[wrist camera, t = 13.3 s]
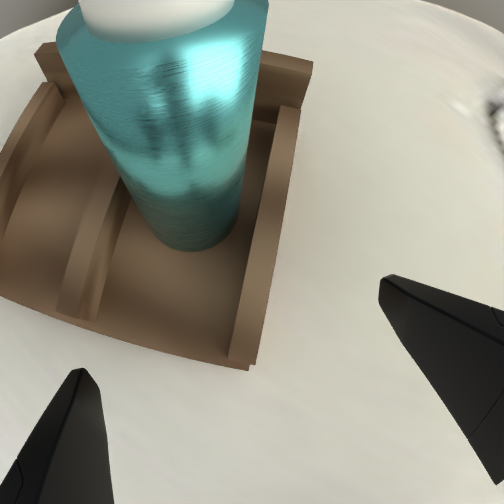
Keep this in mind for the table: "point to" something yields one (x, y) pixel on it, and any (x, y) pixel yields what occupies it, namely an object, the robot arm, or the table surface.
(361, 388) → the table surface
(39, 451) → the robot arm
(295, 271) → the table surface
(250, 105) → the spray can
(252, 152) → the rack
